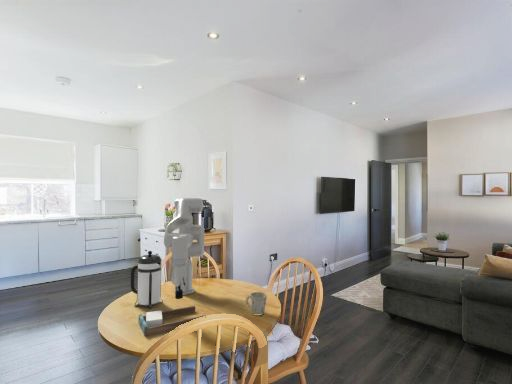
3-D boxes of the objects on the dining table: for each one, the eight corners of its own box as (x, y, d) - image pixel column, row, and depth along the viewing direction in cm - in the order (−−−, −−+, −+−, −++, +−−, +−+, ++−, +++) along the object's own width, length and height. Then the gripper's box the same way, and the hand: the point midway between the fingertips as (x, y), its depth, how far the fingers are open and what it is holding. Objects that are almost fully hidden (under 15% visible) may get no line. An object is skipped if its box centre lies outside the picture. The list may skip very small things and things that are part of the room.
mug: (261, 318, 144) (261, 298, 145) (240, 312, 151) (241, 293, 151) (269, 312, 152) (269, 294, 152) (249, 307, 158) (249, 289, 158)
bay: (138, 322, 137) (138, 314, 137) (194, 311, 152) (194, 303, 152) (144, 336, 124) (144, 327, 124) (205, 322, 139) (205, 313, 139)
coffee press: (161, 297, 171) (163, 247, 171) (163, 307, 156) (164, 252, 156) (130, 301, 165) (131, 248, 165) (128, 311, 150) (130, 254, 150)
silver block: (145, 322, 138) (146, 312, 138) (161, 320, 140) (161, 310, 140) (145, 332, 129) (146, 321, 129) (162, 329, 131) (162, 319, 131)
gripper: (167, 258, 145) (167, 294, 145) (176, 266, 132) (175, 305, 132) (182, 256, 149) (181, 291, 149) (192, 264, 136) (191, 302, 136)
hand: (178, 298), depth 141 cm, fingers closed
